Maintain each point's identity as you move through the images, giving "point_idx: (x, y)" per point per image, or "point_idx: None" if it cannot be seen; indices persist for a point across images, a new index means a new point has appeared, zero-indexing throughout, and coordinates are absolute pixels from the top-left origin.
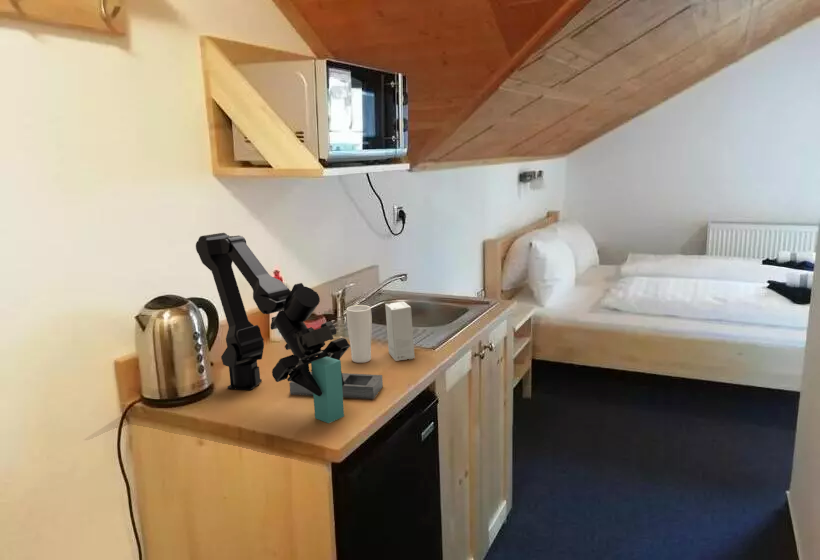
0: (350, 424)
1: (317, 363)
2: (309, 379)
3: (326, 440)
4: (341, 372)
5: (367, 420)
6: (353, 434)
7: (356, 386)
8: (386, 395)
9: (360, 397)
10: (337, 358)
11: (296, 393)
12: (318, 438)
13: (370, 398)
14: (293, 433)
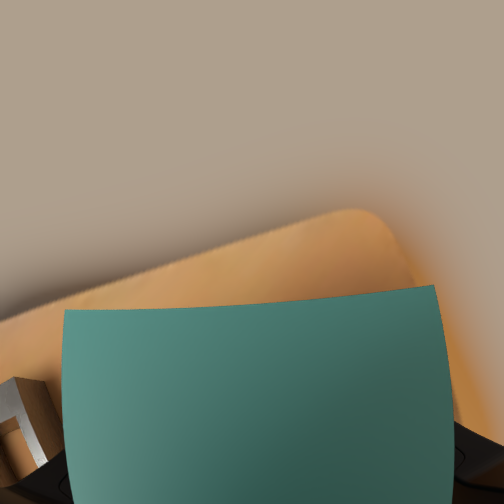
0: (243, 294)
1: (433, 499)
2: (459, 424)
3: (377, 258)
4: None
5: (179, 271)
6: (288, 227)
7: (40, 447)
8: (9, 363)
9: (61, 429)
10: (10, 501)
11: None
12: (389, 289)
13: (46, 392)
14: None
